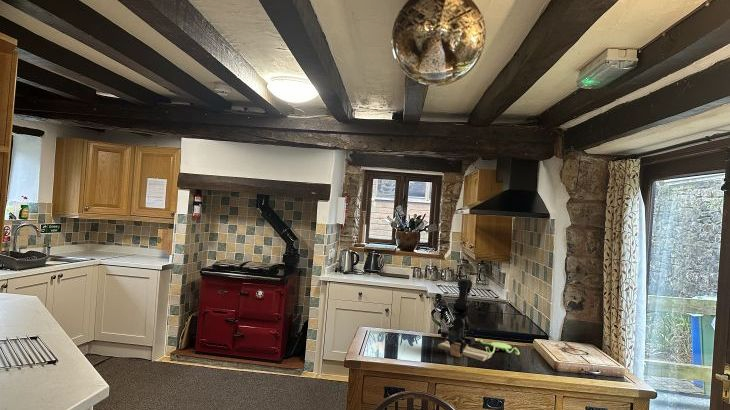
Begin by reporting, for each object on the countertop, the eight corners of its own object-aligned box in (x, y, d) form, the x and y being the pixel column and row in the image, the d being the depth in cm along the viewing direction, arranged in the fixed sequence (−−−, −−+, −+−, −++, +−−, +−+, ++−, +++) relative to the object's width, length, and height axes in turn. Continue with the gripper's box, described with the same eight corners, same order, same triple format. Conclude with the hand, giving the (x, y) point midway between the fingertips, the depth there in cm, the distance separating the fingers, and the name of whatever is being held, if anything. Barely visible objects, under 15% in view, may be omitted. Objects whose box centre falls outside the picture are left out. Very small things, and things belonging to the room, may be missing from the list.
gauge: (462, 349, 276) (463, 339, 276) (470, 351, 272) (471, 341, 272) (449, 354, 263) (450, 344, 263) (457, 357, 260) (458, 346, 260)
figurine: (467, 346, 285) (468, 337, 285) (505, 346, 293) (505, 337, 293) (483, 356, 268) (484, 346, 268) (523, 355, 276) (523, 346, 276)
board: (447, 344, 284) (447, 340, 284) (491, 356, 267) (492, 353, 267) (437, 347, 275) (438, 344, 275) (482, 361, 257) (483, 357, 257)
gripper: (437, 323, 264) (434, 351, 264) (467, 331, 252) (465, 360, 252) (446, 320, 272) (444, 347, 272) (477, 328, 261) (474, 356, 261)
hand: (456, 352), depth 264 cm, fingers closed on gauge, 5 cm apart
